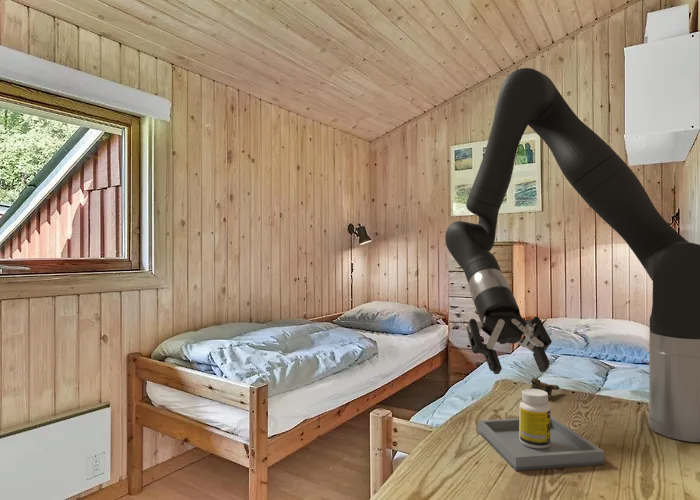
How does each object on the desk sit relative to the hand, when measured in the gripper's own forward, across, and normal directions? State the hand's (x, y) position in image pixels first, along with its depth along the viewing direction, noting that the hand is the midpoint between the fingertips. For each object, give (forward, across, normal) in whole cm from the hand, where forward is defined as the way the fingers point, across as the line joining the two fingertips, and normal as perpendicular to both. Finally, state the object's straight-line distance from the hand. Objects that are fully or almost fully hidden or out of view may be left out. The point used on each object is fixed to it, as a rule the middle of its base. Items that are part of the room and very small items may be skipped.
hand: (521, 370), depth 79 cm
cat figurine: (-5, +15, +21) cm, 26 cm away
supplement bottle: (+11, 0, +5) cm, 12 cm away
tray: (+11, 0, +5) cm, 12 cm away
